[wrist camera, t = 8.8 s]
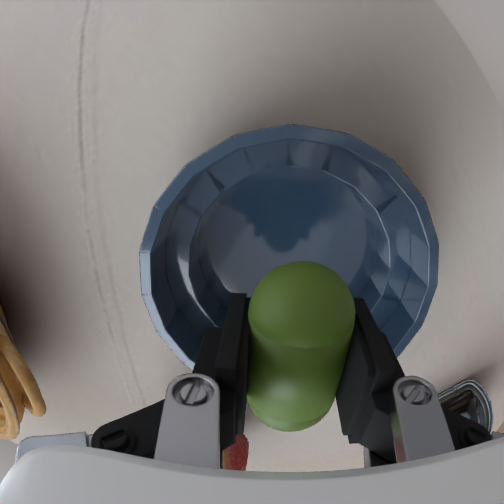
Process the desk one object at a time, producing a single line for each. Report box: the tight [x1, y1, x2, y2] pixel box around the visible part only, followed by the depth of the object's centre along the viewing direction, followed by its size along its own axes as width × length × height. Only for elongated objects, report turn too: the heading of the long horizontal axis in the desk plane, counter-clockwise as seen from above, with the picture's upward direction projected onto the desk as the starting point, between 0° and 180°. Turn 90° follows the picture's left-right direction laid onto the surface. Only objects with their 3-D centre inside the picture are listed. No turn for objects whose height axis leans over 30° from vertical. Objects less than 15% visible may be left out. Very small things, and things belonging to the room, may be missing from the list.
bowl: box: [139, 124, 439, 370], centre depth 16 cm, size 14×14×5 cm
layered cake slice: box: [437, 380, 493, 434], centre depth 22 cm, size 10×7×12 cm
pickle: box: [247, 261, 356, 432], centre depth 10 cm, size 6×3×3 cm, turn 178°
